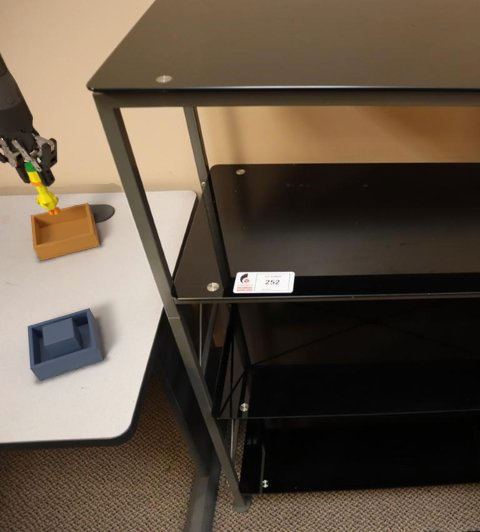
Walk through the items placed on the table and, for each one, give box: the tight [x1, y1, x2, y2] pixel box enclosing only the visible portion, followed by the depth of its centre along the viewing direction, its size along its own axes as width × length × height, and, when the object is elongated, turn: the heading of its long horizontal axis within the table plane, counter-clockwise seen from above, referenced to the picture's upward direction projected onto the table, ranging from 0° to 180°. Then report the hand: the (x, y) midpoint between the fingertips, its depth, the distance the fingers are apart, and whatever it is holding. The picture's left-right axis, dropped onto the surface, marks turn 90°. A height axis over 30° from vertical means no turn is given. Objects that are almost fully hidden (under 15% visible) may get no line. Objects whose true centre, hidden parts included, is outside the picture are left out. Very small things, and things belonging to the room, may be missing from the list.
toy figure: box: [24, 161, 61, 215], centre depth 99 cm, size 7×4×12 cm, turn 18°
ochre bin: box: [30, 202, 101, 262], centre depth 107 cm, size 11×11×4 cm
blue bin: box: [27, 307, 104, 382], centre depth 88 cm, size 10×10×4 cm
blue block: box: [42, 318, 83, 359], centre depth 87 cm, size 4×4×4 cm
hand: (39, 182), depth 98 cm, fingers closed on toy figure, 3 cm apart
